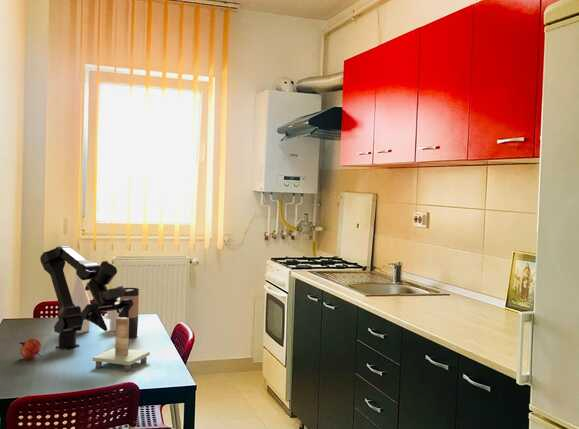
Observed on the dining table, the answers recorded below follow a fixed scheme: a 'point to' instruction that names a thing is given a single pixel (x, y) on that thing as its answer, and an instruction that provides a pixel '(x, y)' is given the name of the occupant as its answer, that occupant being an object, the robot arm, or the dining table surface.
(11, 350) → the dining table surface
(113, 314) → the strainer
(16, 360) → the dining table surface
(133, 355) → the peg shelf
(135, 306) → the travel mug
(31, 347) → the pomegranate
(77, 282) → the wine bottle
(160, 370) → the dining table surface
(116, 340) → the post
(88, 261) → the robot arm
